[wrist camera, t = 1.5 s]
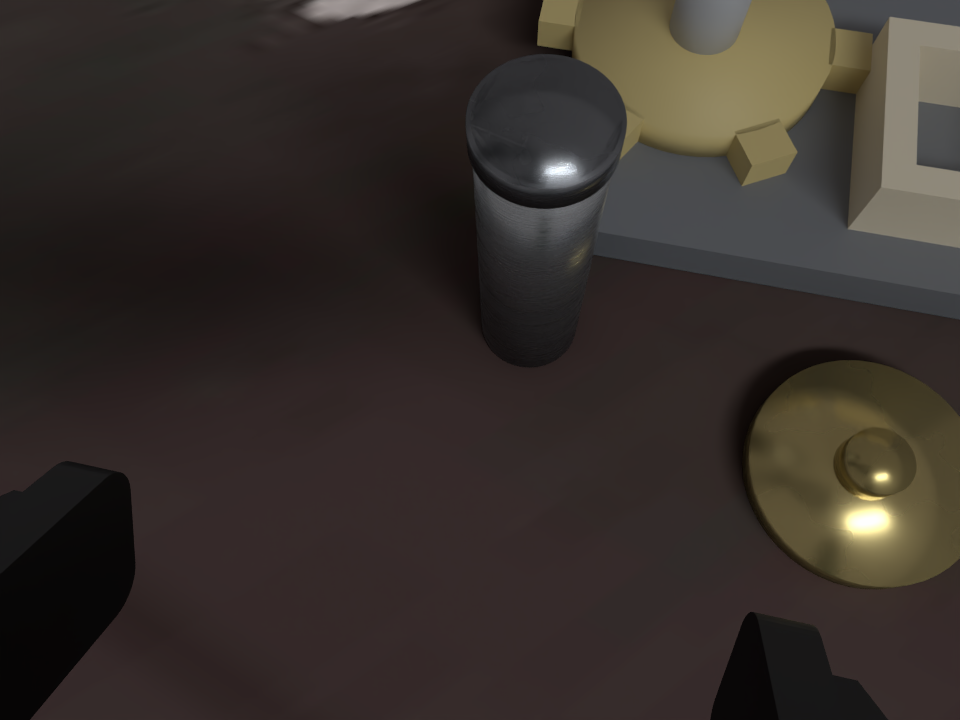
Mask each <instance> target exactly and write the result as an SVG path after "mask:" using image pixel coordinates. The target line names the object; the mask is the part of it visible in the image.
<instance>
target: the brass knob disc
mask: <svg viewBox="0 0 960 720" xmlns="http://www.w3.org/2000/svg"><path fill="white" fill-rule="evenodd" d="M742 469H743V479H744V484H745V488H746V492H747V496H748V499H749V501H750V504H751V507H752V509H753V511H754V513H755V515H756V517H757V519H758V521H759V523H760V524H761V526H762V527H763V528H764V530H765V531H766V533H767V534H768V536H769V537H770V538H771V539H772V540H773V542H774V543H775V544H776V545H777V546H778V547H779V548H780V549H781V550H782V551H783V552H784V553H785V554H786V555H787V556H788V557H789V558H791V559H792V560H793V561H795V562H796V563H797V564H799V565H800V566H802V567H803V568H804V569H806V570H808V571H810V572H812V573H813V574H815V575H817V576H819V577H821V578H824V579H826V580H828V581H831V582H833V583H837V584H840V585H844V586H848V587H853V588H860V589H887V588H894V587H900V586H906V585H911V584H914V583H918V582H922V581H925V580H927V579H929V578H932V577H934V576H936V575H938V574H940V573H941V572H943V571H944V570H946V569H947V568H949V567H950V566H951V565H953V564H954V563H955V562H956V561H957V560H958V559H959V558H960V417H959V416H958V415H957V413H956V412H955V411H954V410H953V408H952V407H951V406H950V405H949V404H948V403H947V402H946V401H945V400H944V399H943V398H942V397H941V396H940V395H938V394H937V393H936V392H935V391H933V390H932V389H931V388H930V387H928V386H927V385H925V384H924V383H922V382H921V381H919V380H917V379H916V378H914V377H912V376H910V375H908V374H906V373H904V372H902V371H900V370H897V369H894V368H891V367H889V366H886V365H882V364H877V363H873V362H867V361H859V360H840V361H832V362H826V363H822V364H818V365H815V366H812V367H810V368H807V369H805V370H802V371H801V372H799V373H797V374H795V375H794V376H792V377H790V378H789V379H788V380H786V381H785V382H784V383H783V384H781V385H780V386H779V387H778V388H777V389H776V390H775V391H774V392H773V393H772V394H771V395H770V396H769V397H768V398H767V399H766V400H765V401H764V402H763V403H762V405H761V406H760V408H759V409H758V410H757V412H756V413H755V415H754V417H753V419H752V421H751V423H750V425H749V428H748V431H747V434H746V437H745V441H744V447H743V457H742Z"/></svg>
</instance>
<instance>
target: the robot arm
mask: <svg viewBox="0 0 960 720" xmlns="http://www.w3.org/2000/svg"><path fill="white" fill-rule="evenodd" d="M134 575H135V551H134V535H133V520H132V505H131V490H130V484H129V480H128V478H127V477H126V476H125V475H124V474H123V473H121V472H116V471H111V470H107V469H102V468H98V467H93V466H89V465H84V464H79V463H75V462H69V461H65V462H61V463H59V464H57V465H56V466H54V467H53V468H52V469H51V470H49V471H48V472H47V473H46V474H44V475H43V476H42V477H41V478H39V479H38V480H37V481H36V482H34V483H33V484H32V485H31V486H30V487H28V488H27V489H26V490H25V491H23V492H19V491H15V490H13V491H11V492H9V493H7V494H4V495H2V496H0V720H30V719H31V718H32V717H33V715H34V714H35V713H36V712H37V711H38V709H39V708H40V707H41V706H42V705H43V703H44V702H45V701H46V700H47V699H48V697H49V696H50V695H51V694H52V693H53V691H54V690H55V689H56V688H57V687H58V685H59V684H60V683H61V682H62V681H63V679H64V678H65V677H66V676H67V675H68V673H69V672H70V671H71V670H72V669H73V667H74V666H75V665H76V664H77V663H78V661H79V660H80V659H81V658H82V657H83V656H84V654H85V653H86V652H87V651H88V650H89V648H90V647H91V646H92V645H93V644H94V642H95V641H96V640H97V639H98V638H99V636H100V635H101V634H102V633H103V632H104V630H105V629H106V628H107V627H108V626H109V624H110V623H111V622H112V621H113V620H114V618H115V617H116V616H117V615H118V613H119V612H120V611H121V609H122V607H123V606H124V604H125V602H126V600H127V598H128V596H129V593H130V590H131V588H132V584H133V580H134ZM710 720H888V719H887V718H886V717H885V715H884V714H883V713H882V711H881V710H880V709H879V708H878V706H877V705H876V704H875V702H874V701H873V700H872V699H871V697H870V696H869V695H868V693H867V692H866V691H865V690H864V688H863V687H862V686H861V685H860V683H859V682H858V681H857V680H852V679H848V678H843V677H839V676H834V675H832V672H831V669H830V665H829V662H828V659H827V655H826V652H825V649H824V645H823V642H822V639H821V636H820V633H819V631H818V629H817V628H816V627H815V626H813V625H810V624H805V623H800V622H796V621H791V620H787V619H782V618H778V617H773V616H768V615H764V614H759V613H755V612H750V613H748V614H747V616H746V617H745V619H744V621H743V623H742V625H741V628H740V631H739V634H738V636H737V639H736V642H735V645H734V648H733V650H732V653H731V656H730V659H729V662H728V664H727V667H726V670H725V673H724V676H723V678H722V681H721V684H720V687H719V690H718V692H717V695H716V698H715V701H714V705H713V709H712V713H711V719H710Z"/></svg>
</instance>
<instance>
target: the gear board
mask: <svg viewBox="0 0 960 720" xmlns="http://www.w3.org/2000/svg"><path fill="white" fill-rule="evenodd" d="M537 45H538V46H544V47H551V48H558V49H564V50H571V51H572V58H574V59H577V60H580V61H582V62H584V63H587V64H589V65H591V66H592V67H594V68H596V69H597V70H599V71H600V72H601V73H602V74H604V75H605V76H606V77H607V78H608V79H609V80H610V81H611V82H612V83H613V85H614V86H615V87H616V89H617V90H618V92H619V94H620V95H621V97H622V100H623V102H624V105H625V109H626V114H627V129H626V135H625V139H624V143H623V148H622V152H621V156H620V160H619V163H618V165H617V168H616V170H615V172H614V174H613V175H612V177H611V179H610V183H609V188H608V192H607V196H606V201H605V205H604V210H603V214H602V218H601V223H600V227H599V231H598V236H597V240H596V245H595V249H594V253H593V255H598V256H604V257H610V258H615V259H621V260H626V261H632V262H638V263H643V264H649V265H655V266H660V267H666V268H672V269H677V270H683V271H689V272H694V273H700V274H706V275H711V276H717V277H723V278H728V279H734V280H740V281H745V282H751V283H756V284H762V285H768V286H773V287H779V288H785V289H790V290H796V291H802V292H807V293H813V294H819V295H824V296H830V297H836V298H841V299H847V300H853V301H858V302H864V303H870V304H875V305H881V306H886V307H892V308H898V309H903V310H909V311H915V312H920V313H926V314H932V315H937V316H943V317H949V318H954V319H960V0H544V1H543V5H542V9H541V13H540V18H539V24H538V41H537Z"/></svg>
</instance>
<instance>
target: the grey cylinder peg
mask: <svg viewBox="0 0 960 720" xmlns="http://www.w3.org/2000/svg"><path fill="white" fill-rule="evenodd" d="M626 129H627V114H626V109H625V105H624V102H623V100H622V97H621V95H620V94H619V92H618V90H617V89H616V87H615V86H614V85H613V83H612V82H611V81H610V80H609V79H608V78H607V77H606V76H605V75H604V74H602V73H601V72H600V71H599V70H597V69H596V68H594V67H592V66H591V65H589V64H587V63H584V62H582V61H580V60H577V59H574V58H571V57H567V56H562V55H553V54H537V55H529V56H525V57H520V58H517V59H514V60H511V61H509V62H507V63H505V64H502V65H501V66H499V67H497V68H496V69H494V70H493V71H492V72H490V73H489V74H488V75H487V76H486V77H485V78H484V79H483V80H482V81H481V82H480V83H479V84H478V86H477V87H476V88H475V90H474V92H473V94H472V96H471V97H470V100H469V103H468V106H467V111H466V137H467V149H468V156H469V159H470V162H471V165H472V167H473V179H474V197H475V214H476V232H477V249H478V267H479V285H480V302H481V320H482V331H483V335H484V338H485V340H486V343H487V344H488V346H489V347H490V349H491V350H492V351H493V352H494V353H495V354H496V355H497V356H498V357H499V358H501V359H502V360H504V361H506V362H507V363H510V364H512V365H516V366H519V367H539V366H543V365H546V364H549V363H551V362H553V361H555V360H557V359H558V358H559V357H561V356H562V355H563V354H564V353H565V352H566V351H567V349H568V348H569V347H570V345H571V343H572V341H573V339H574V336H575V332H576V327H577V323H578V319H579V314H580V310H581V306H582V301H583V297H584V293H585V288H586V284H587V279H588V275H589V271H590V266H591V262H592V258H593V253H594V249H595V245H596V240H597V236H598V231H599V227H600V223H601V218H602V214H603V210H604V205H605V201H606V196H607V192H608V188H609V183H610V179H611V177H612V175H613V174H614V172H615V170H616V168H617V165H618V163H619V160H620V156H621V152H622V148H623V143H624V139H625V135H626Z"/></svg>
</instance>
